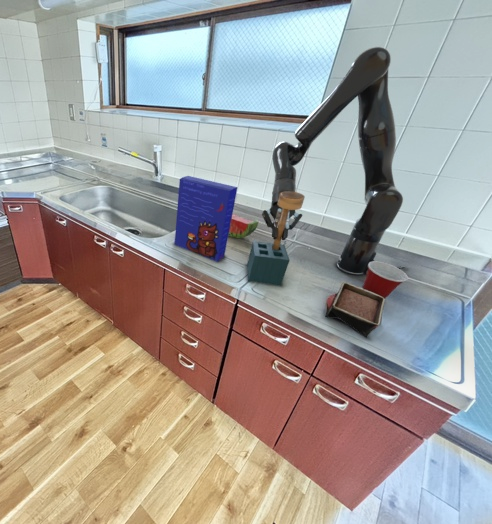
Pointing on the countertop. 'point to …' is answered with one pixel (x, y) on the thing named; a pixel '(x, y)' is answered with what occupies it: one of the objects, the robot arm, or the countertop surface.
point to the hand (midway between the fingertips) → (279, 238)
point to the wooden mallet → (286, 211)
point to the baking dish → (356, 308)
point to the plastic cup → (383, 278)
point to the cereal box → (204, 216)
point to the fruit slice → (241, 227)
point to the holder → (267, 263)
